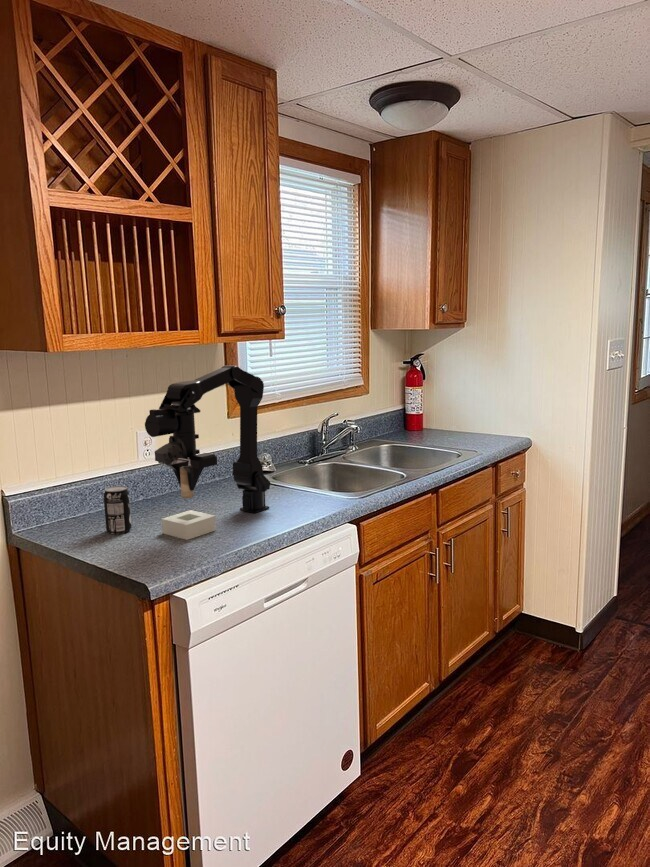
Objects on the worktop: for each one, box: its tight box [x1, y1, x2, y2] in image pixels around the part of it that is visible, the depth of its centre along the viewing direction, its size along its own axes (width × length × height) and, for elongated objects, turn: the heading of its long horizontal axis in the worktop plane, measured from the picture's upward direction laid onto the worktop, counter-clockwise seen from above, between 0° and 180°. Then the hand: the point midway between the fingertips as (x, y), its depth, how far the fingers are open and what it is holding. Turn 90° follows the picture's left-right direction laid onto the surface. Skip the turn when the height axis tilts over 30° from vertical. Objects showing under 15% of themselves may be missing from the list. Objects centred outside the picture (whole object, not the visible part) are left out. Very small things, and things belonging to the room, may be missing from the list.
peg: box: [180, 466, 195, 499], centre depth 177 cm, size 3×3×8 cm
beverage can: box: [103, 485, 133, 535], centre depth 180 cm, size 7×7×12 cm
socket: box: [161, 509, 217, 541], centre depth 179 cm, size 10×10×4 cm
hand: (187, 489), depth 177 cm, fingers closed on peg, 3 cm apart
